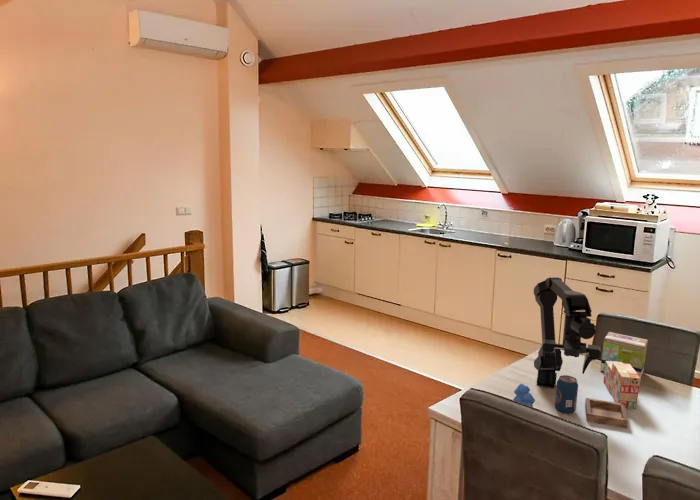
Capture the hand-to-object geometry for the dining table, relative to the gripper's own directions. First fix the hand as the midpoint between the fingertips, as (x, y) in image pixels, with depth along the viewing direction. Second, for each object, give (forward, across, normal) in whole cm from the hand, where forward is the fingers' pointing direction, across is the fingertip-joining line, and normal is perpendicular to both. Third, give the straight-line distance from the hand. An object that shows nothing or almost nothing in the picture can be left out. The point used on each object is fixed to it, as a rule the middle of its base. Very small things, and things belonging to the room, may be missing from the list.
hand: (568, 371), depth 191 cm
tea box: (+13, +22, +40) cm, 48 cm away
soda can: (+14, 0, -3) cm, 14 cm away
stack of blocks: (+14, +19, +17) cm, 29 cm away
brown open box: (+13, +13, -2) cm, 19 cm away
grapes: (+14, -13, -13) cm, 23 cm away
